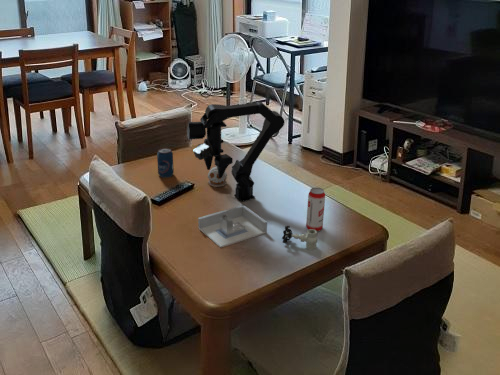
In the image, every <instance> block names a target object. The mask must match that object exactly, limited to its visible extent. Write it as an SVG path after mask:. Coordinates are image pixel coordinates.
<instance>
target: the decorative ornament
mask: <svg viewBox="0 0 500 375" xmlns="http://www.w3.org/2000/svg"><path fill="white" fill-rule="evenodd" d="M227 176H228V174H227V172H226V170H225V172H224V174H223V176H222V178H219V176H218V168H217V166H216V165H215V167H214V166H213V167H211V168H210V170H208V173H207V178H208V181H207V184H208V185H209V186H212V187H217V188H218V187H224V186H225V185H227V179H228V177H227Z"/></svg>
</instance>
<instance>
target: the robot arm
mask: <svg viewBox="0 0 500 375" xmlns="http://www.w3.org/2000/svg"><path fill="white" fill-rule="evenodd" d="M251 115H252V116H253V115H261V116H262V117H263V118H264V121H263V124H262V128H261V131H260V132H259V134H258V135H257V136H256V138H255V140H254V142H253V143H252V145H251V146H250V148H249V150H248V151H247V152H246V154H245V155H244V156H243V158H241V160H239V159H236V160H235V162H234V164H233V157H232V156H230V155H228V154H227V153H225V154H223V153H224V149H223V148H222V144H223V143H224V139H223V138H222V128H226V127H227V124H226V122H225V121H226V120H228V119H231V118H237V117H244V116H251ZM284 125H285V119H284V117H283V116H282V115H281V114H280V113H279V112H278V111H275V110H271V109H270V108H269V107H268V106H266V104H264V103H263V101H256V102H248V103H240V104H231V105H225V104H215V103H214V104H213V103H211V104H208V105H207V107H206V108H205V111H204V113H203V115H202V116H201V117H200V120H199V121H187V127H186V135H187V140H189V141H190V140H191V141H192V140H201V139H204V138H205V137H206V138H205V139H204V141H203V143H199V144H198V145H197V146H196V147H195V148H193V150H192V151H193V154H194V156H195V158H196V159H198V160H199V161H202V160H203V161H204V164H205V167H206V169H207V171H210V170H211V169H212V163H213V159H214V165H215V166H217V168H218V176H219V178H222V176H223V174H224V172H225V171H226V170H227V169H228V166H229V165H231V164H233V166H231V176H232V177H233V179H234V180H235V182H236V184H235V185H236V186H235V194H234V195H233V196H234V197H235V198H236V199H238V200H239V201H241V202H246V201H249V200H252V199H253V200H254V199H255V198H256V196H255V195H254V185H255V182H254V180H253V179H252V177H251V176H252V175H251V174H252V170H253V166H254V164H255V163H256V161H257V160H258V158H259V157H260V155H261V153H262V152H263V150H264V149H265V148H266V146H267V144H268V142H269V141H270V140H271V138H272V137H274V135H277V134H278V133H279V132H280V130H282V129H283V127H284Z"/></svg>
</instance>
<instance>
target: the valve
mask: <svg viewBox="0 0 500 375" xmlns="http://www.w3.org/2000/svg"><path fill="white" fill-rule="evenodd" d="M290 228H291V226H290V225H285V227H284V230H283V231H282V234H283V236H282V237H281V240H282V243H283V244H286V243H288V242H289V241H290V240H291V239H292V238H294V239H296V240H300V242H301V243H305V248H306V249H307V250H310V251H314V250H316V249H317V243H318V232H317V231H316V230H314V229H309V230H308V229H307V230H306V233H302V234H298V233H293V231H292V229H290Z"/></svg>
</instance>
